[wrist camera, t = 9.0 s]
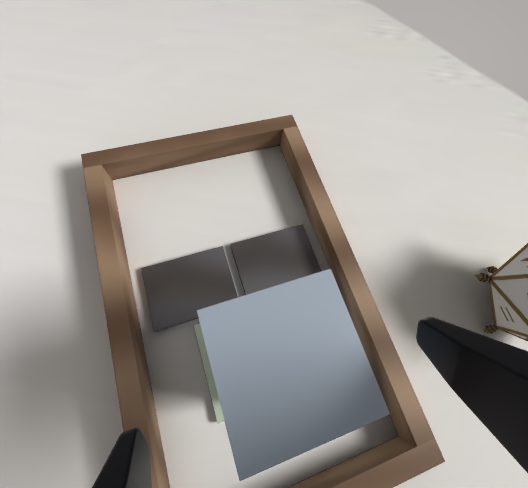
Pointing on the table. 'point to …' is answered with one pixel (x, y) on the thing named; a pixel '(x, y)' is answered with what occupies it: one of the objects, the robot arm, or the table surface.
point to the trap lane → (253, 279)
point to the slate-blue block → (288, 371)
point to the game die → (509, 295)
